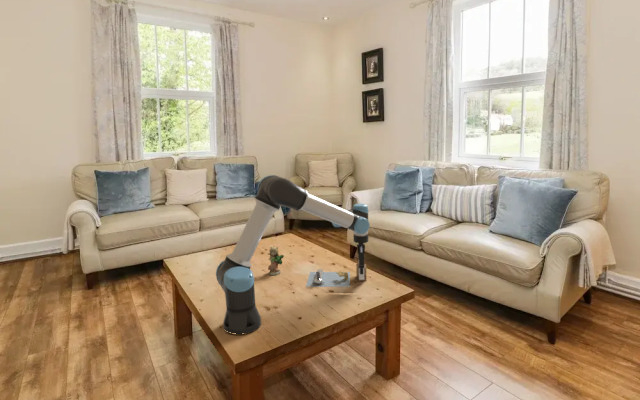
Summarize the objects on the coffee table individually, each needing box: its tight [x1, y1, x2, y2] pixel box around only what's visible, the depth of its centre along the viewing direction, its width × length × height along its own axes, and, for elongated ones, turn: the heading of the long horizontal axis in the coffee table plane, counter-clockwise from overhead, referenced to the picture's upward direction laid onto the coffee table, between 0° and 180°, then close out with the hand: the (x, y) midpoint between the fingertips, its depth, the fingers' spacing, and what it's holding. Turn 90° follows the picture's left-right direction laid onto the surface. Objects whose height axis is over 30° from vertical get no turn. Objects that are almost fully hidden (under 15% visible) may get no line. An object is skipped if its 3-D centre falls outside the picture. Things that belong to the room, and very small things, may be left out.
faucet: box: [314, 269, 324, 285], centre depth 194 cm, size 15×4×2 cm, turn 175°
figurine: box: [267, 246, 284, 276], centre depth 204 cm, size 9×8×15 cm
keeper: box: [336, 270, 348, 280], centre depth 192 cm, size 5×5×4 cm
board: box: [305, 271, 351, 288], centre depth 193 cm, size 19×22×7 cm
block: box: [355, 263, 367, 282], centre depth 192 cm, size 5×5×8 cm
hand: (361, 275), depth 193 cm, fingers open, 9 cm apart
